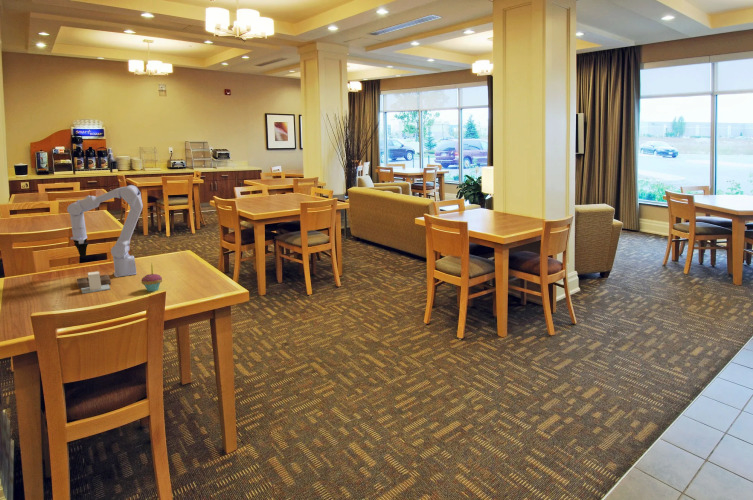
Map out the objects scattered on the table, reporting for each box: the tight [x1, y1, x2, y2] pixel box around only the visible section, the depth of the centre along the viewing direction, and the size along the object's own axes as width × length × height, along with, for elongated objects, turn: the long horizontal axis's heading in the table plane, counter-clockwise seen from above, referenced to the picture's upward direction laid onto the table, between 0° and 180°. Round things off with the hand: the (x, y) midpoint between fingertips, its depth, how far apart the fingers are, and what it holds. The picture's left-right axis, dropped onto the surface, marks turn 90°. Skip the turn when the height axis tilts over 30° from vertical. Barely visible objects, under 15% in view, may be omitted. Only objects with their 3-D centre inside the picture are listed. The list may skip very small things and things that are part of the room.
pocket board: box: [76, 274, 112, 290], centre depth 236 cm, size 13×9×2 cm
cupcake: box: [141, 263, 163, 292], centre depth 226 cm, size 9×8×12 cm
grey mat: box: [80, 284, 111, 294], centre depth 228 cm, size 11×7×1 cm, turn 122°
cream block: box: [87, 271, 102, 290], centre depth 227 cm, size 4×4×7 cm
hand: (82, 255), depth 246 cm, fingers open, 7 cm apart
